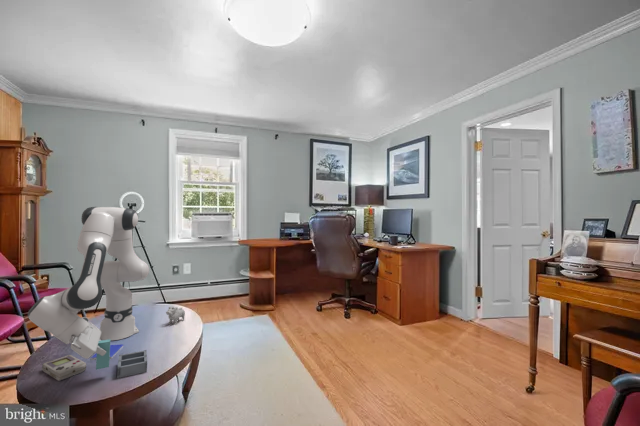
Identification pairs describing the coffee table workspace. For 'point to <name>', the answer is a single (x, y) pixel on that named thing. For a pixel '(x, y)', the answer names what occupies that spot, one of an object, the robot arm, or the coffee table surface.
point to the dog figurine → (175, 314)
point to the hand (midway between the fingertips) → (105, 351)
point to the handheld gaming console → (64, 367)
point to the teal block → (104, 360)
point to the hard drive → (113, 351)
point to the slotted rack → (132, 364)
